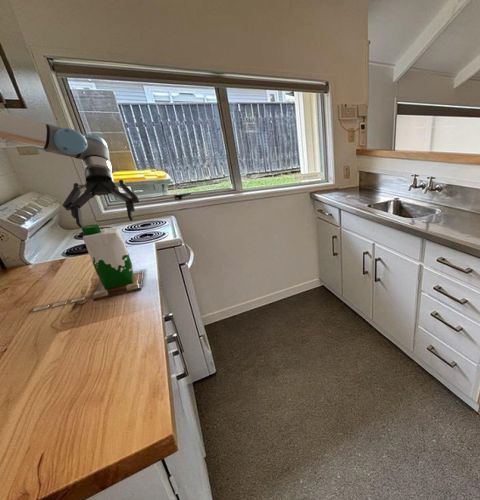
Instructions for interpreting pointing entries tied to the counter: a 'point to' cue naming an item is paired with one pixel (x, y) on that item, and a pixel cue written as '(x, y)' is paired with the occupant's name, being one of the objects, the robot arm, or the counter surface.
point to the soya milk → (108, 256)
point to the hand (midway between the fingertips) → (106, 222)
